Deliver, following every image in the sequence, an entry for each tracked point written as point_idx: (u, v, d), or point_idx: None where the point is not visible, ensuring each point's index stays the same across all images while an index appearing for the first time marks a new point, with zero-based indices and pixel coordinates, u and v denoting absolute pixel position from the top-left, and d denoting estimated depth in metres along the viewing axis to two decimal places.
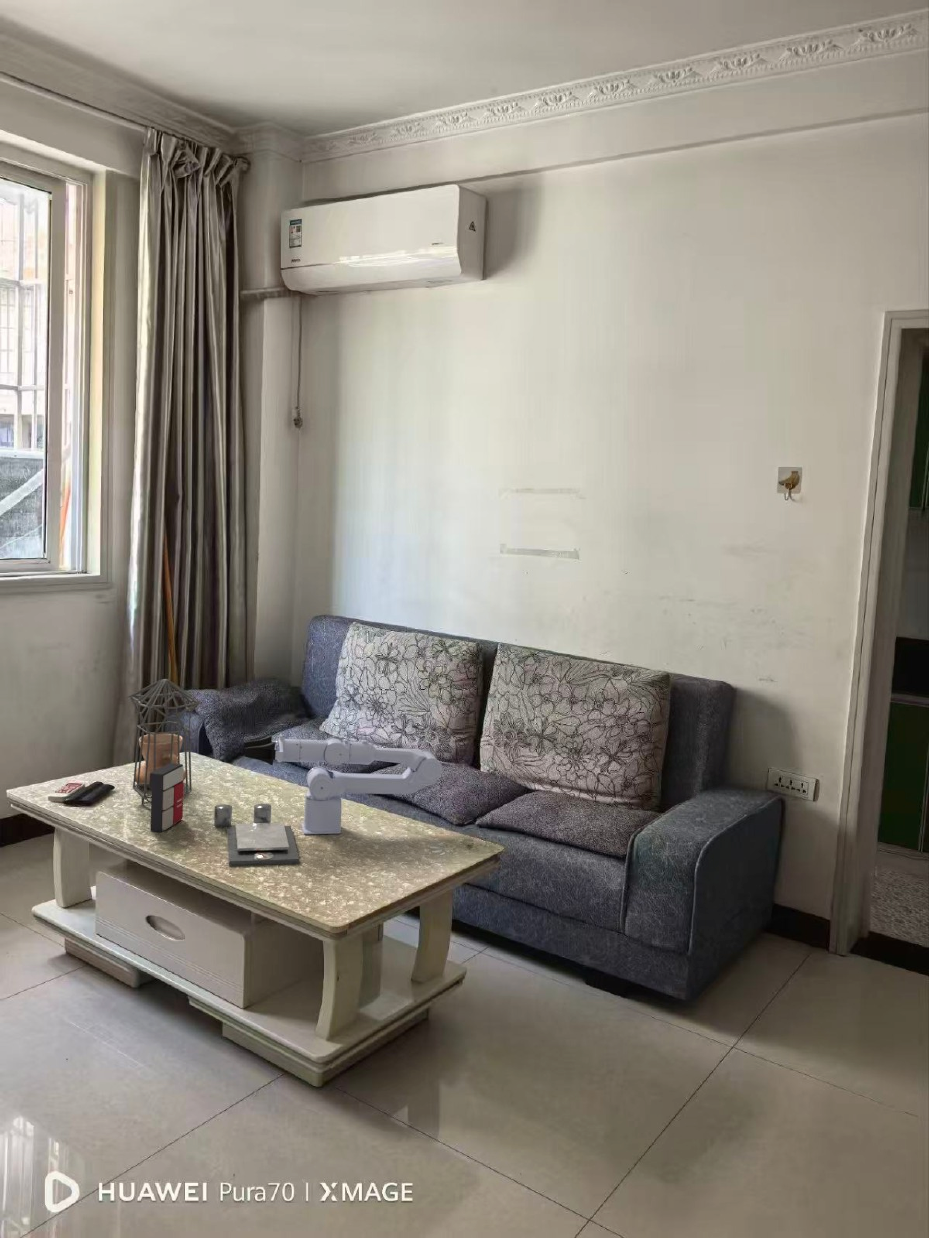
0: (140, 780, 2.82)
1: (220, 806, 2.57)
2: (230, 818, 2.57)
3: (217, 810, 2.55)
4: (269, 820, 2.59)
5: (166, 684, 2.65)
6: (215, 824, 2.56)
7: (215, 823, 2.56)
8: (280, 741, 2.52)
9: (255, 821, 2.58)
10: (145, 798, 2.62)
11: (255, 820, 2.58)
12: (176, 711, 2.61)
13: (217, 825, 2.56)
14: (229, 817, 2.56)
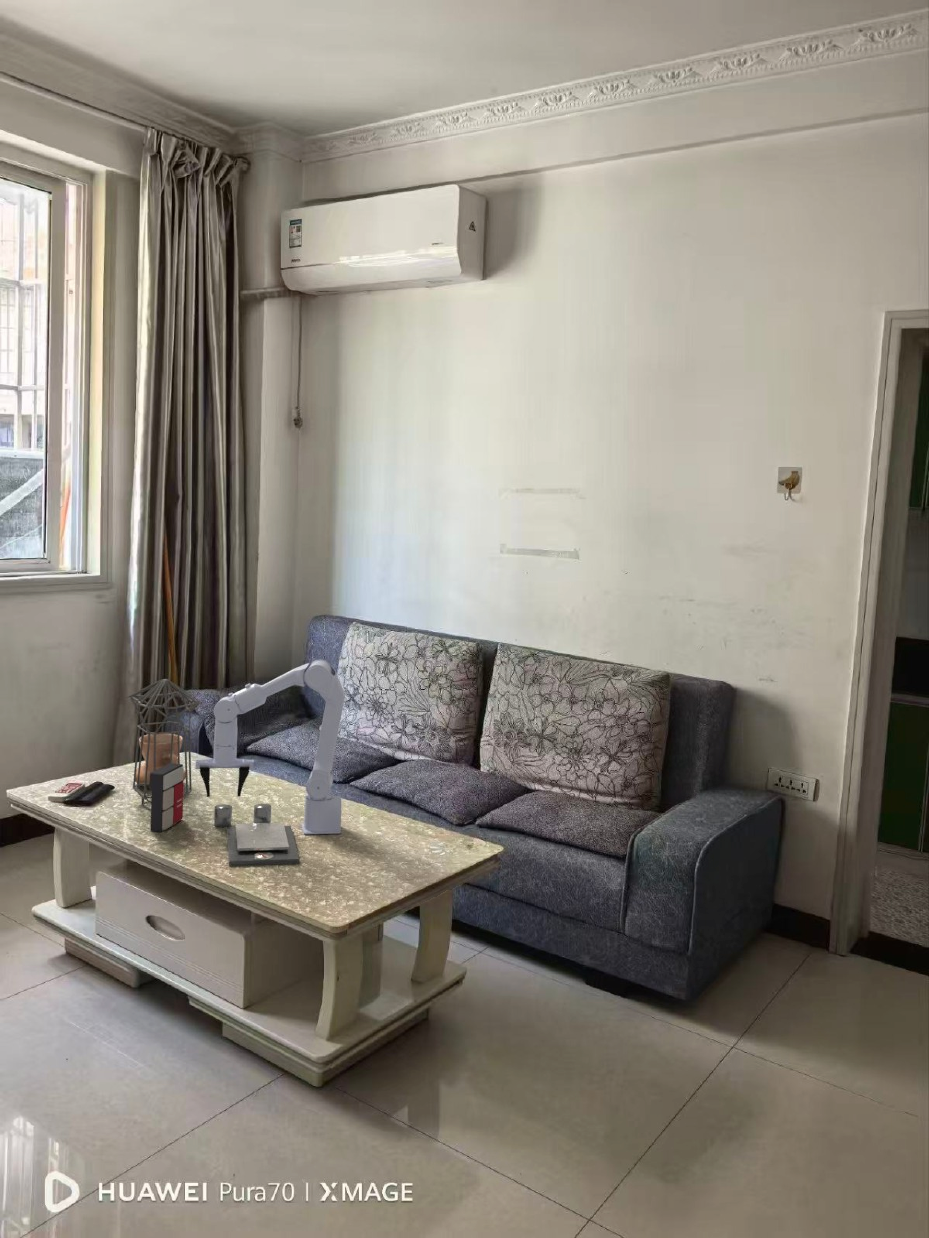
0: (140, 780, 2.82)
1: (220, 806, 2.57)
2: (230, 818, 2.57)
3: (217, 810, 2.55)
4: (269, 820, 2.59)
5: (166, 684, 2.65)
6: (215, 824, 2.56)
7: (215, 823, 2.56)
8: None
9: (255, 821, 2.58)
10: (145, 798, 2.62)
11: (255, 820, 2.58)
12: (176, 711, 2.61)
13: (217, 825, 2.56)
14: (229, 817, 2.56)
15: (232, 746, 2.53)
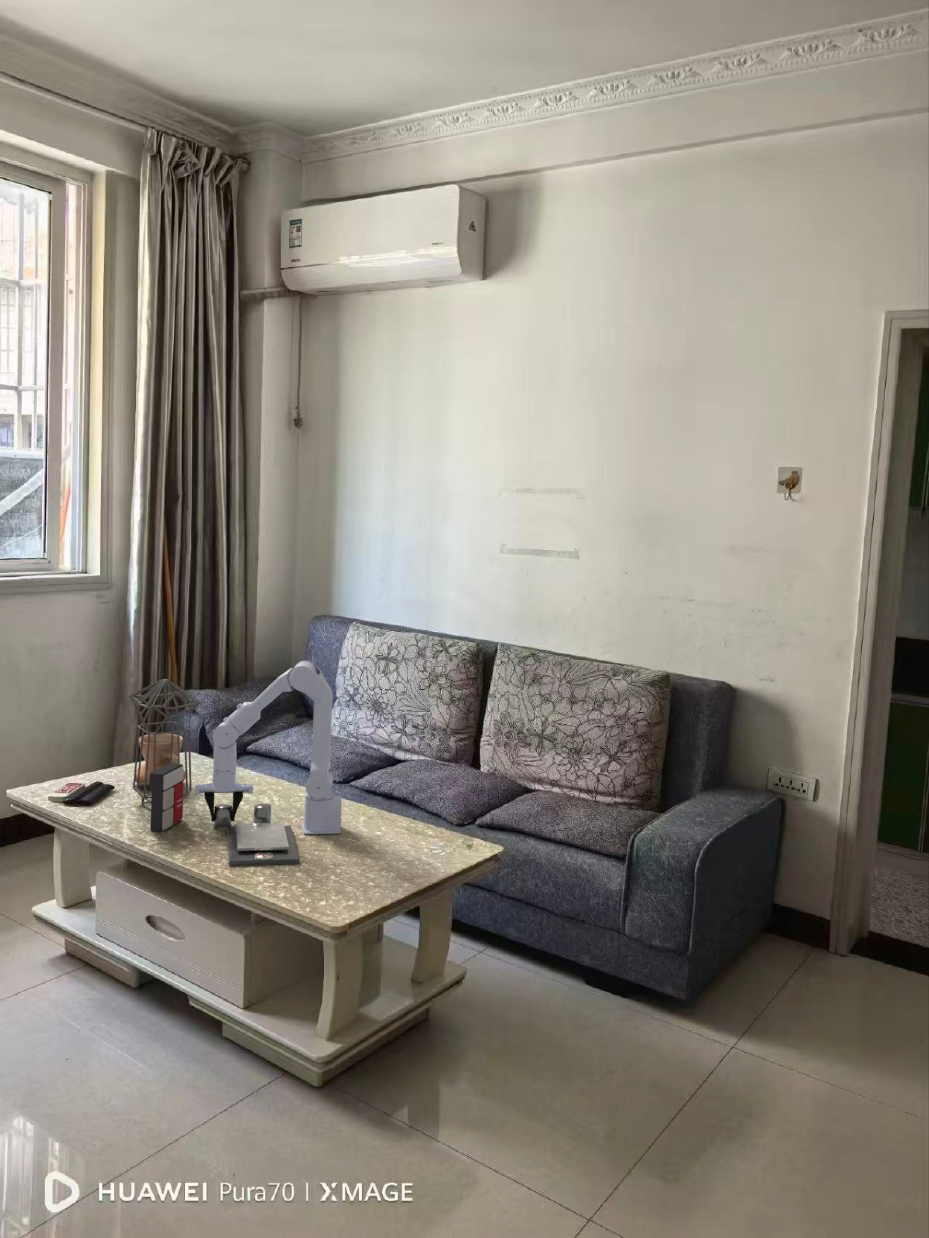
0: (140, 780, 2.82)
1: (220, 806, 2.57)
2: (230, 818, 2.57)
3: (217, 810, 2.55)
4: (269, 820, 2.59)
5: (166, 684, 2.65)
6: (215, 824, 2.56)
7: (215, 823, 2.56)
8: None
9: (255, 821, 2.58)
10: (145, 798, 2.62)
11: (255, 820, 2.58)
12: (176, 711, 2.61)
13: (217, 825, 2.56)
14: (229, 816, 2.56)
15: (231, 771, 2.54)
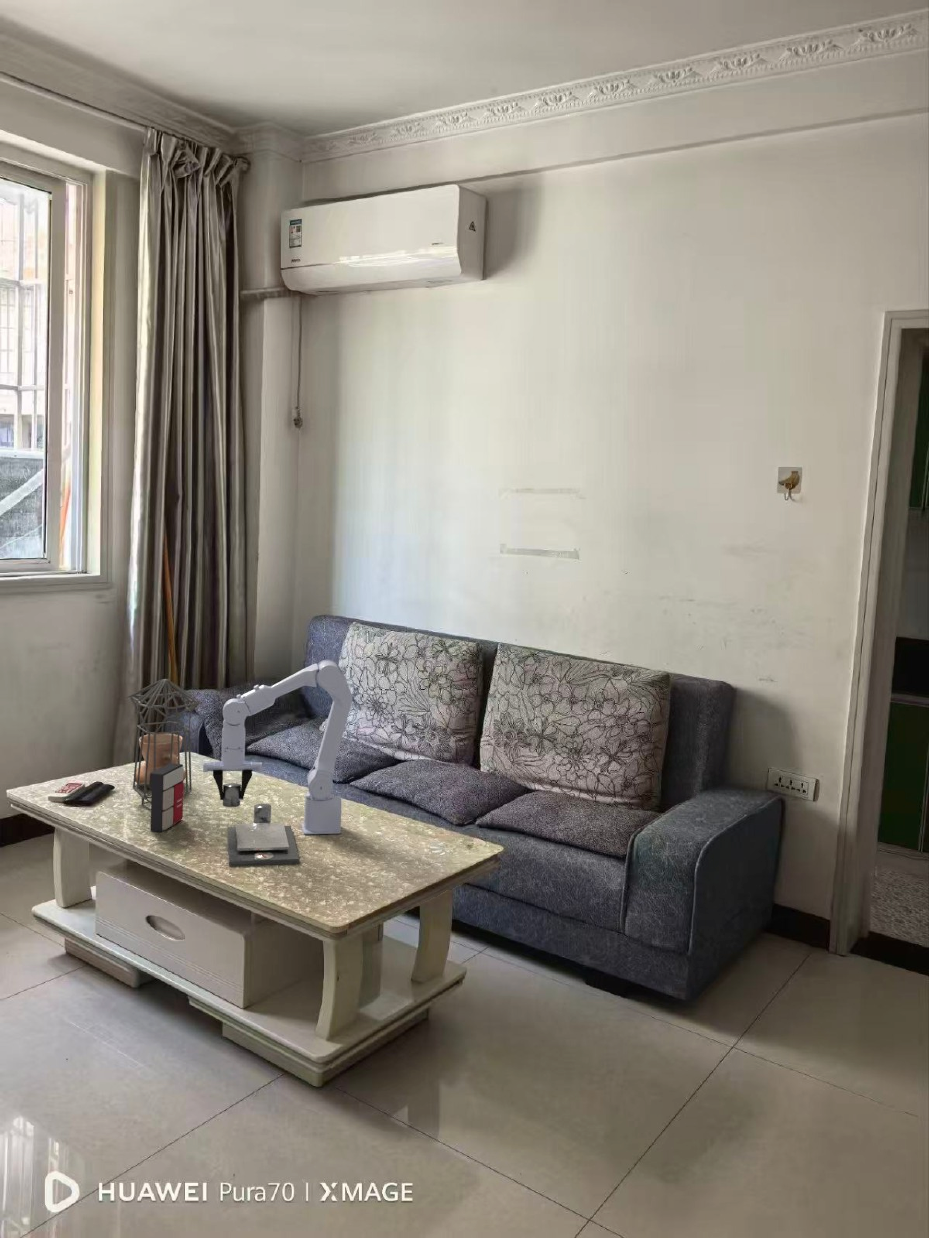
0: (140, 780, 2.82)
1: (229, 785, 2.53)
2: (239, 797, 2.53)
3: (226, 789, 2.51)
4: (269, 820, 2.59)
5: (166, 684, 2.65)
6: (224, 803, 2.52)
7: (224, 802, 2.52)
8: None
9: (255, 821, 2.58)
10: (145, 798, 2.62)
11: (255, 820, 2.58)
12: (176, 711, 2.61)
13: (226, 804, 2.52)
14: (238, 795, 2.52)
15: (240, 749, 2.50)
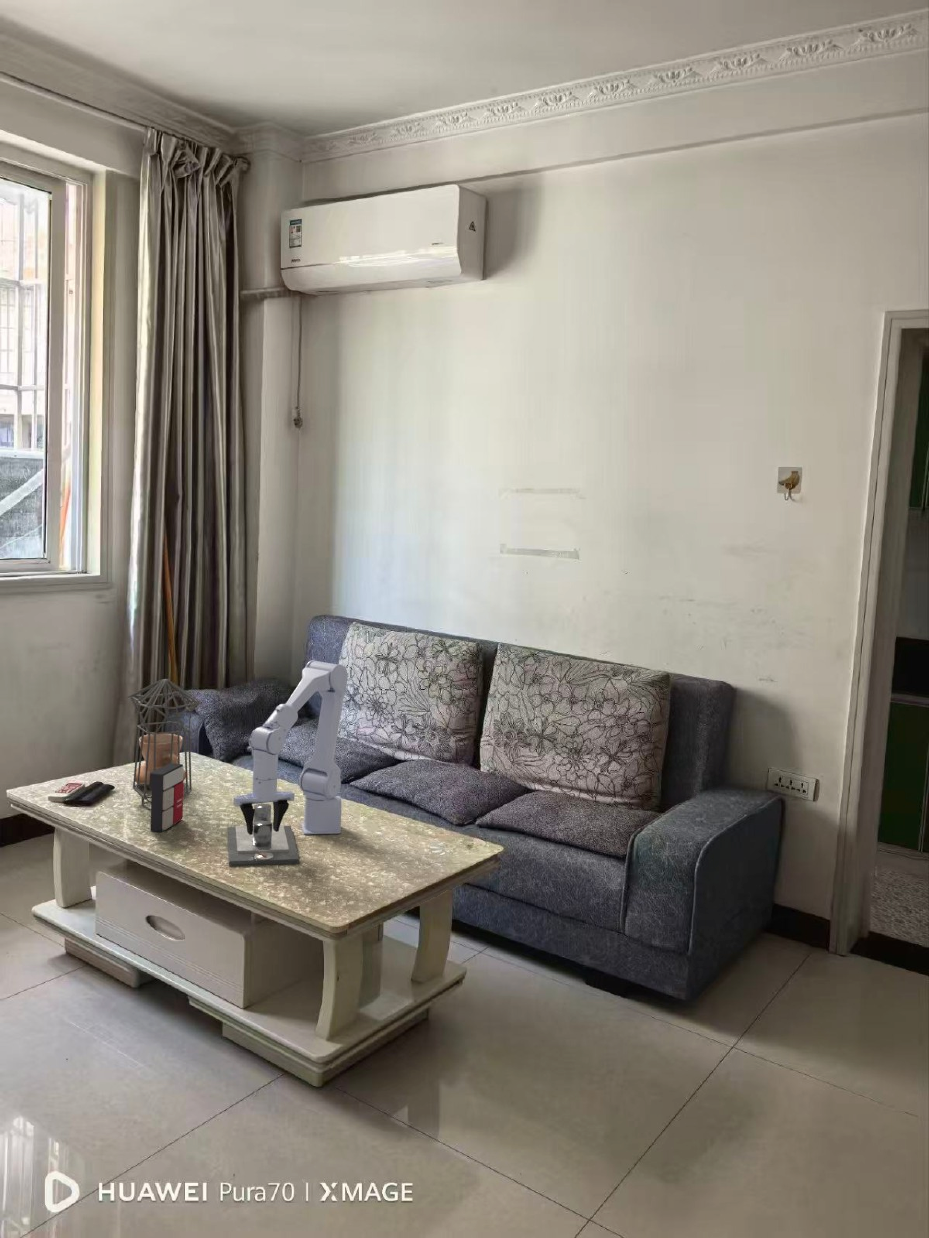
0: (140, 780, 2.82)
1: (259, 823, 2.40)
2: (271, 835, 2.41)
3: (259, 828, 2.38)
4: (269, 820, 2.59)
5: (166, 684, 2.65)
6: (257, 843, 2.39)
7: (257, 842, 2.39)
8: None
9: (255, 821, 2.58)
10: (145, 798, 2.62)
11: (255, 820, 2.58)
12: (176, 711, 2.61)
13: (259, 844, 2.39)
14: (271, 833, 2.40)
15: (275, 779, 2.38)
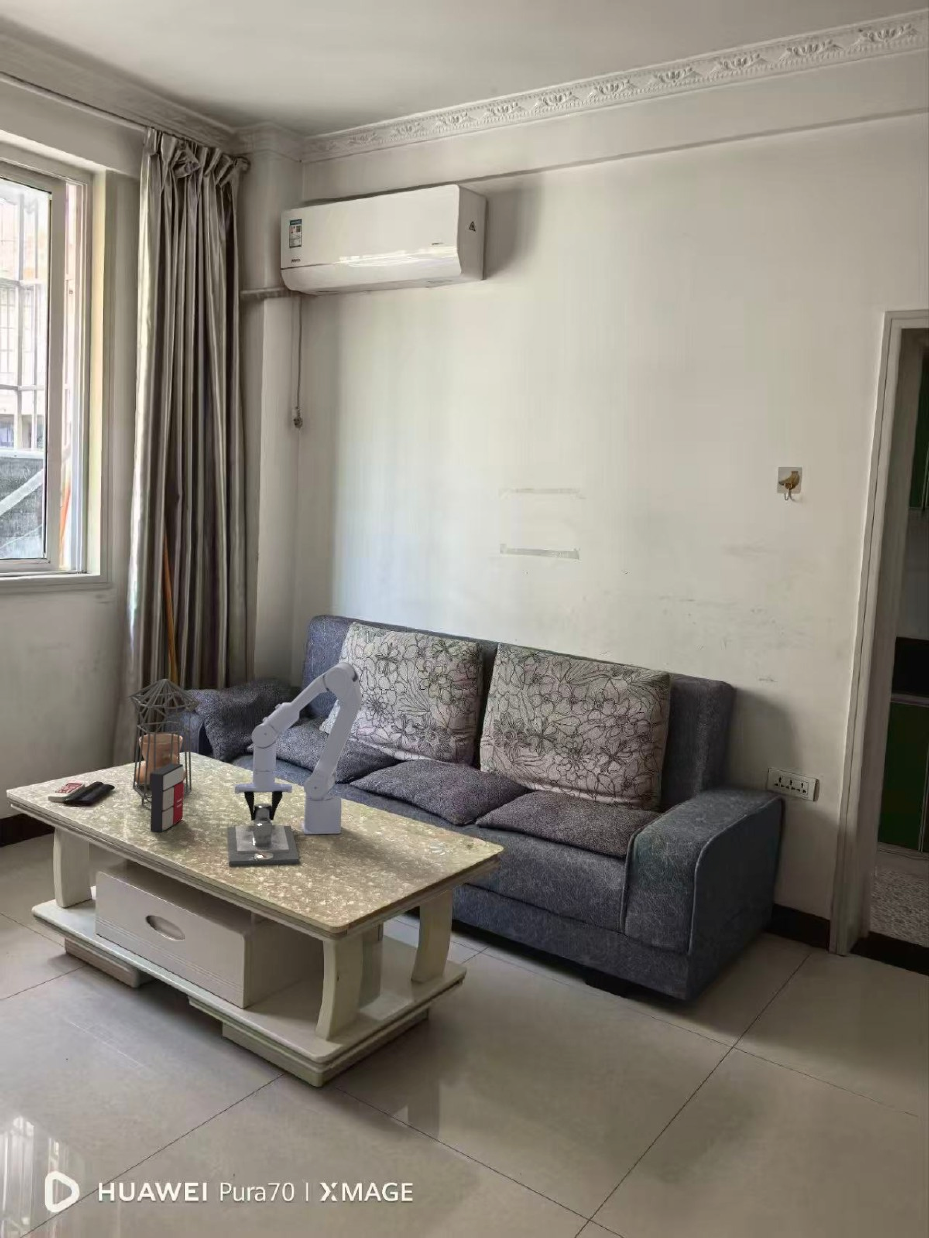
0: (140, 780, 2.82)
1: (259, 823, 2.40)
2: (271, 835, 2.41)
3: (259, 828, 2.38)
4: (269, 820, 2.59)
5: (166, 684, 2.65)
6: (256, 843, 2.39)
7: (256, 842, 2.39)
8: None
9: (255, 821, 2.58)
10: (145, 798, 2.62)
11: (255, 820, 2.58)
12: (176, 711, 2.61)
13: (259, 844, 2.39)
14: (271, 833, 2.40)
15: (271, 771, 2.57)
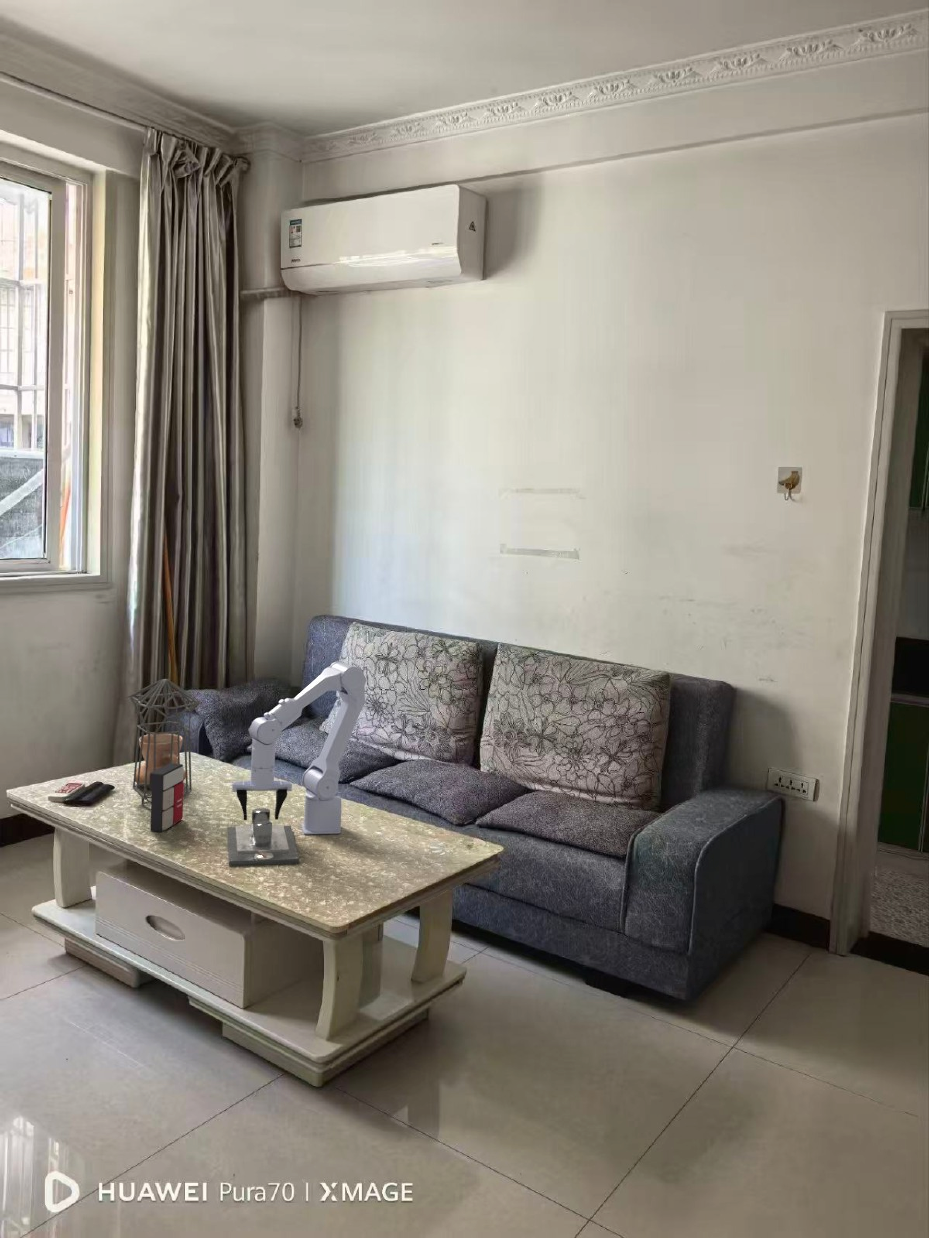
0: (140, 780, 2.82)
1: (259, 823, 2.40)
2: (271, 835, 2.41)
3: (259, 828, 2.38)
4: None
5: (166, 684, 2.65)
6: (256, 843, 2.39)
7: (256, 842, 2.39)
8: None
9: (253, 826, 2.49)
10: (145, 798, 2.62)
11: (253, 825, 2.49)
12: (176, 711, 2.61)
13: (259, 844, 2.39)
14: (271, 833, 2.40)
15: (270, 768, 2.46)
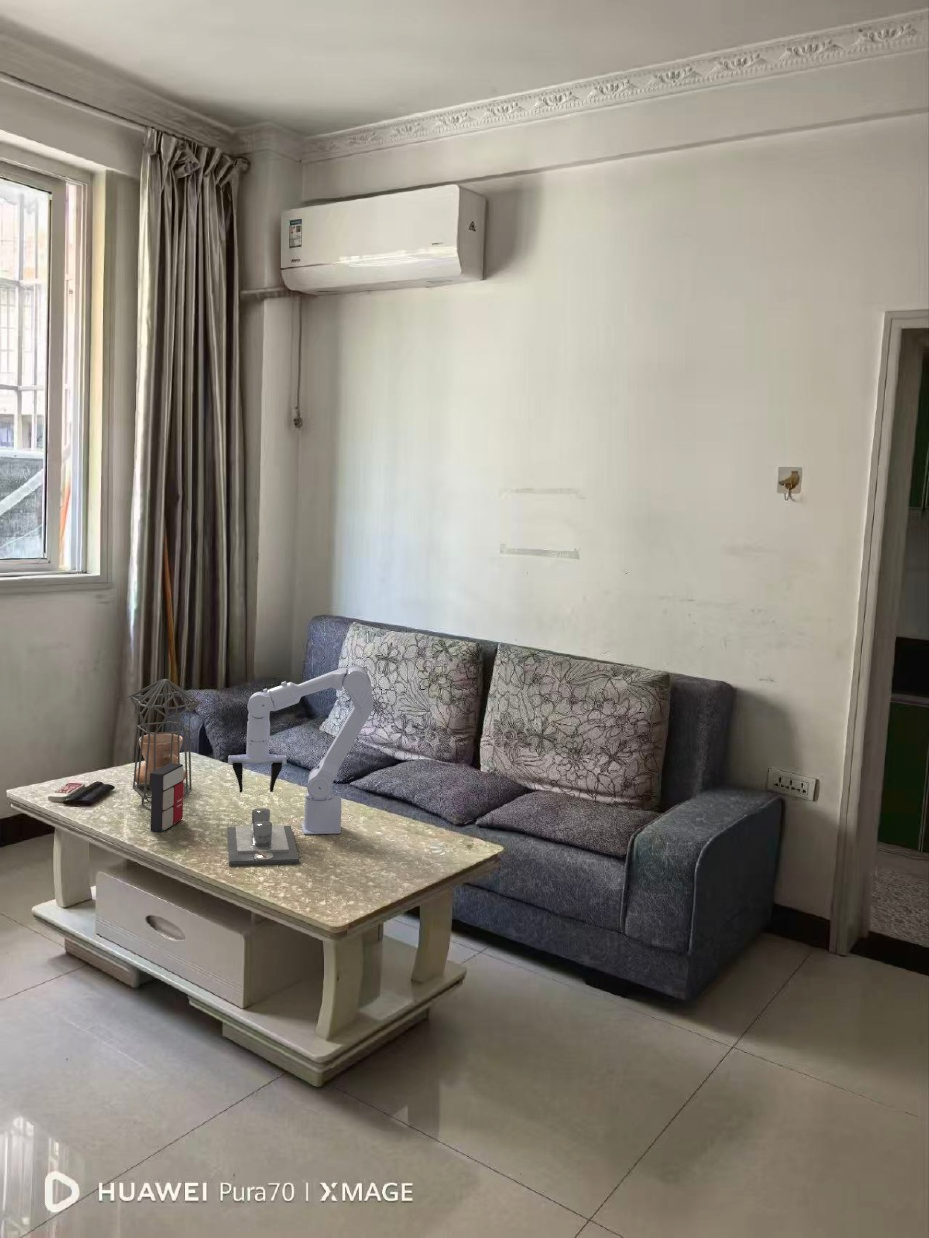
0: (140, 780, 2.82)
1: (259, 823, 2.40)
2: (271, 835, 2.41)
3: (259, 828, 2.38)
4: None
5: (166, 684, 2.65)
6: (256, 843, 2.39)
7: (256, 842, 2.39)
8: None
9: (253, 826, 2.49)
10: (145, 798, 2.62)
11: (253, 825, 2.49)
12: (176, 711, 2.61)
13: (259, 844, 2.39)
14: (271, 833, 2.40)
15: (265, 741, 2.52)
